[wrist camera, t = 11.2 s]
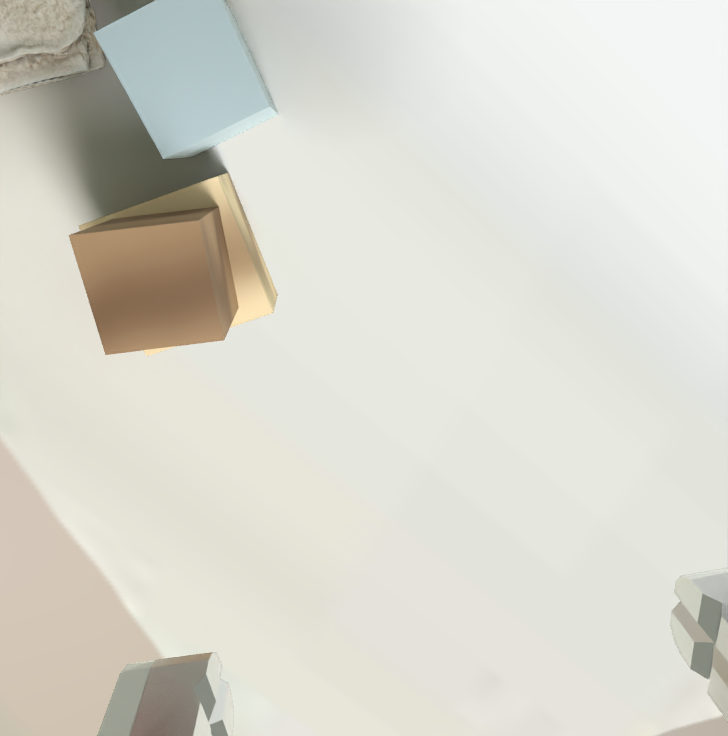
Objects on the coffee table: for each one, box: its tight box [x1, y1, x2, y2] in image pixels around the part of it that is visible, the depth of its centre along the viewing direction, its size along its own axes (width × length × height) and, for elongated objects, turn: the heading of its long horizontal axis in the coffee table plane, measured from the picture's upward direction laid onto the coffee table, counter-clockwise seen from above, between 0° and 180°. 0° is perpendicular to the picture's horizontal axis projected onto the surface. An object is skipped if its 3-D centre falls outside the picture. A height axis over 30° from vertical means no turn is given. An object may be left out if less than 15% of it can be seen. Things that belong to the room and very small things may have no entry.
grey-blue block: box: [94, 0, 278, 159], centre depth 25 cm, size 5×5×6 cm
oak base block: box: [79, 173, 278, 356], centre depth 29 cm, size 7×7×4 cm
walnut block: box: [69, 207, 239, 355], centre depth 25 cm, size 5×5×5 cm
